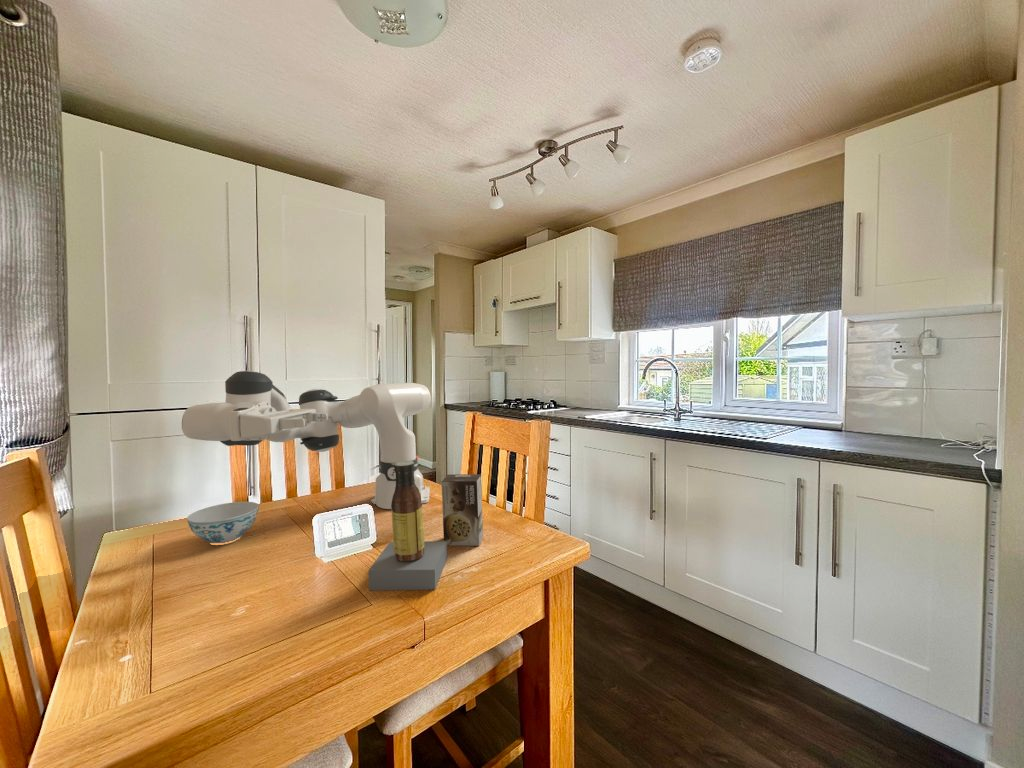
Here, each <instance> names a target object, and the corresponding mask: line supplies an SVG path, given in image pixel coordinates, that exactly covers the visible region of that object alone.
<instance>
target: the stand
mask: <svg viewBox="0 0 1024 768" xmlns="http://www.w3.org/2000/svg"><path fill="white" fill-rule="evenodd" d="M447 561H448V545H447V541H444V540H439V541H438V540H434V541H425V540H424V554H423V556H422V557H421V558H419V559H417V560H413V561H409V562H404V561H399V560H398V559H396V556H395V552H394V543H393V541H389V542H388V543H387V545H386V546H385V547H384V548H383V550H382V552H381V553H380V554H379V556H378V557H377V558H376V560H375V561H374V562H373V563H372V565H371V566H370V568H369V569H368V590H369V591H430V590H431V591H433V590H432V589H435V590H436V589H437V587H436V586H438V583H439V582H440V581H439V580H440V579H439V578H441V575H442V573H443V570H444V568H445V565H446V562H447ZM429 589H430V590H429Z"/></svg>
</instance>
